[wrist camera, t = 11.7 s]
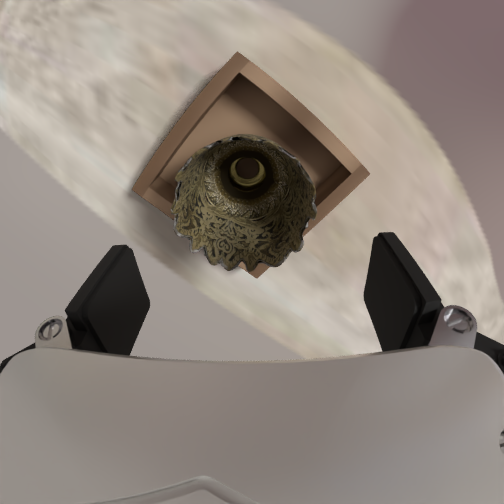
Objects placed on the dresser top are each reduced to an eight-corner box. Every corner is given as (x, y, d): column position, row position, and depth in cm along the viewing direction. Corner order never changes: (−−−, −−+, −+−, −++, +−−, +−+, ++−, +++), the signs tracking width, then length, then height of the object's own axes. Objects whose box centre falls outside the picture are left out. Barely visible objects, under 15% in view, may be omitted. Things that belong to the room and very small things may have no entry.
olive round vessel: (215, 106, 18) (190, 118, 11) (312, 139, 19) (341, 170, 13) (188, 196, 22) (158, 251, 15) (275, 224, 23) (282, 287, 16)
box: (357, 162, 21) (370, 173, 18) (256, 257, 26) (256, 278, 23) (240, 56, 16) (237, 51, 14) (145, 176, 22) (131, 189, 19)
